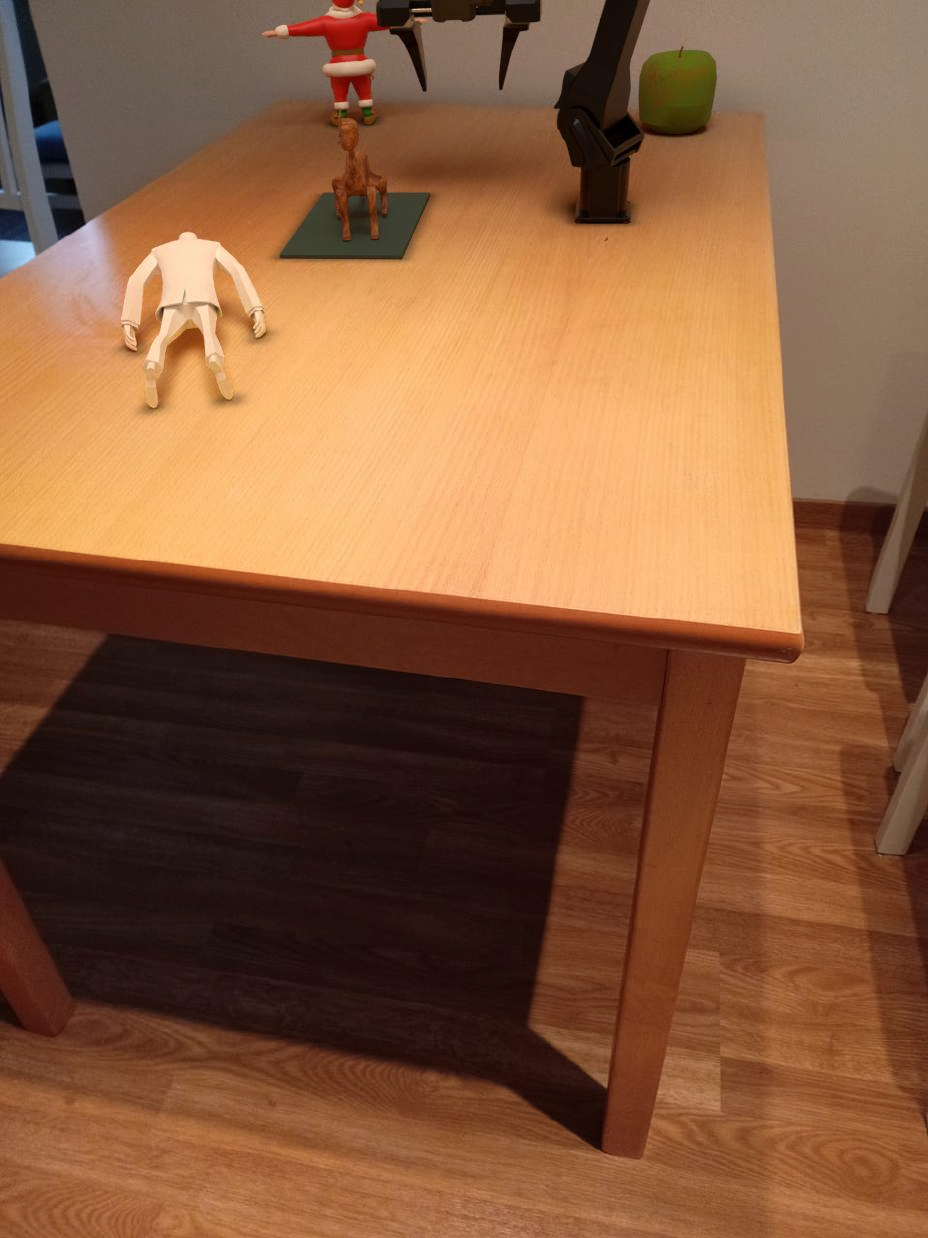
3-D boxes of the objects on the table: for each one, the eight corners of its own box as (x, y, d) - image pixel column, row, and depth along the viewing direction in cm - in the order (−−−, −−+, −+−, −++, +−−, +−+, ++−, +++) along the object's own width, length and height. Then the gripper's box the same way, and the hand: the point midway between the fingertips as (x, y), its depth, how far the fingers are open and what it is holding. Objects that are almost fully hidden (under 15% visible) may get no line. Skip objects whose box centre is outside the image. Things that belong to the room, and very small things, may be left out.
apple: (689, 115, 150) (698, 34, 143) (725, 132, 143) (735, 47, 136) (623, 124, 148) (628, 42, 141) (655, 142, 140) (662, 56, 133)
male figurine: (274, 413, 87) (263, 269, 103) (263, 353, 82) (253, 211, 98) (117, 431, 85) (131, 282, 101) (96, 371, 81) (114, 224, 97)
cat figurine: (338, 198, 125) (324, 77, 116) (389, 195, 125) (380, 75, 116) (331, 249, 111) (315, 116, 102) (389, 245, 111) (378, 113, 102)
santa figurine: (429, 111, 158) (422, -26, 146) (436, 120, 154) (429, -21, 141) (273, 127, 154) (253, -14, 142) (277, 136, 150) (255, -8, 138)
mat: (402, 258, 109) (401, 255, 109) (279, 257, 111) (279, 254, 110) (430, 195, 126) (430, 192, 125) (323, 195, 127) (323, 192, 127)
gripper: (361, -55, 103) (375, 108, 113) (539, -62, 101) (537, 104, 111) (378, -67, 111) (390, 86, 121) (542, -74, 110) (541, 82, 120)
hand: (462, 90), depth 118 cm, fingers open, 9 cm apart
